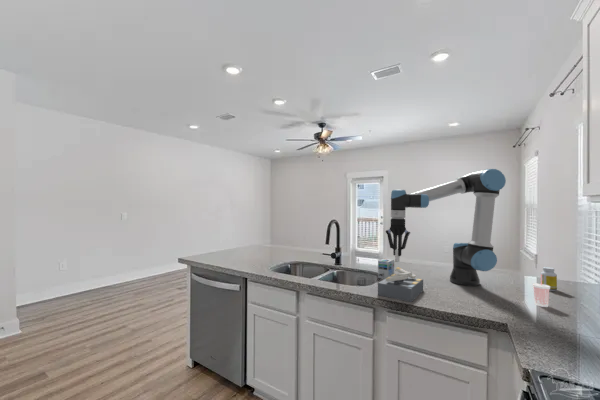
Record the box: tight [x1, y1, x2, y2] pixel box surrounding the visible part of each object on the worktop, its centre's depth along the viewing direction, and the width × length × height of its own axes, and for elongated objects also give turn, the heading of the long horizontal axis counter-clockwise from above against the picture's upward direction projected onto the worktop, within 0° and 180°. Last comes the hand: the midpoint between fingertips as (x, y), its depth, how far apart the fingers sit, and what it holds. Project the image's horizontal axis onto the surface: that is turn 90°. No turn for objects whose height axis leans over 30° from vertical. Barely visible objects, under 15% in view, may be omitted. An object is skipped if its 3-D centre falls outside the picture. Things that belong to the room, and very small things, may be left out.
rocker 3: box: [394, 266, 417, 279], centre depth 150 cm, size 10×4×2 cm, turn 53°
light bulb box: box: [377, 257, 395, 280], centre depth 174 cm, size 11×7×11 cm, turn 143°
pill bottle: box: [540, 266, 558, 292], centre depth 152 cm, size 6×6×12 cm
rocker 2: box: [390, 271, 413, 277], centre depth 144 cm, size 10×4×2 cm, turn 53°
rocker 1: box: [386, 275, 408, 282], centre depth 139 cm, size 10×4×2 cm, turn 53°
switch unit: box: [377, 276, 424, 303], centre depth 144 cm, size 16×22×7 cm
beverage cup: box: [532, 273, 550, 308], centre depth 128 cm, size 6×6×14 cm
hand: (397, 261), depth 152 cm, fingers closed
